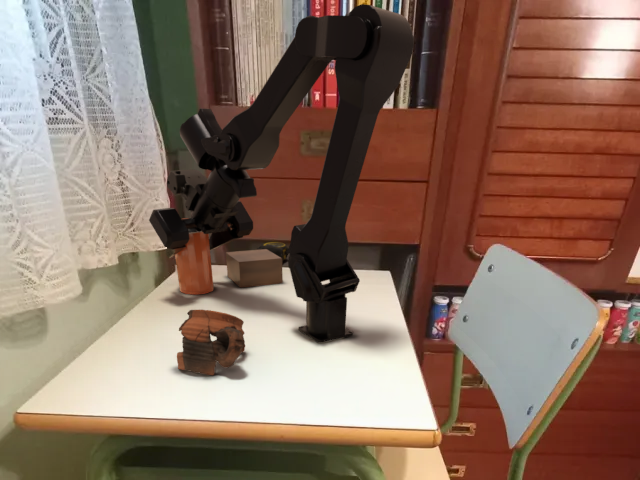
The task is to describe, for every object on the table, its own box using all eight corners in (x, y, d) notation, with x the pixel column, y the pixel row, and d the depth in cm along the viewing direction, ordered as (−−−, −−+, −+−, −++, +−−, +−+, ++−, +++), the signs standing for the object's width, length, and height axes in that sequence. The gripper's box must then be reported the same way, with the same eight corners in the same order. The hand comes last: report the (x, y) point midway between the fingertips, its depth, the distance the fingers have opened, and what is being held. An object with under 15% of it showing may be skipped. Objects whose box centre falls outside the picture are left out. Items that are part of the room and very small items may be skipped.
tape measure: (254, 262, 113) (253, 246, 111) (266, 256, 119) (265, 240, 117) (281, 265, 111) (281, 248, 109) (292, 259, 117) (292, 243, 115)
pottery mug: (159, 367, 65) (168, 306, 64) (218, 378, 72) (226, 323, 71) (209, 373, 57) (220, 303, 56) (270, 385, 64) (279, 323, 63)
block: (282, 283, 99) (282, 258, 96) (240, 287, 96) (239, 262, 93) (267, 272, 106) (266, 249, 103) (227, 276, 102) (225, 252, 100)
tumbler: (218, 291, 93) (212, 222, 87) (186, 296, 90) (177, 225, 84) (206, 283, 98) (199, 217, 91) (175, 287, 95) (166, 219, 88)
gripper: (239, 151, 85) (207, 211, 97) (145, 153, 73) (121, 221, 85) (271, 204, 85) (235, 258, 97) (182, 215, 73) (153, 275, 85)
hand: (188, 252), depth 91 cm, fingers open, 9 cm apart
